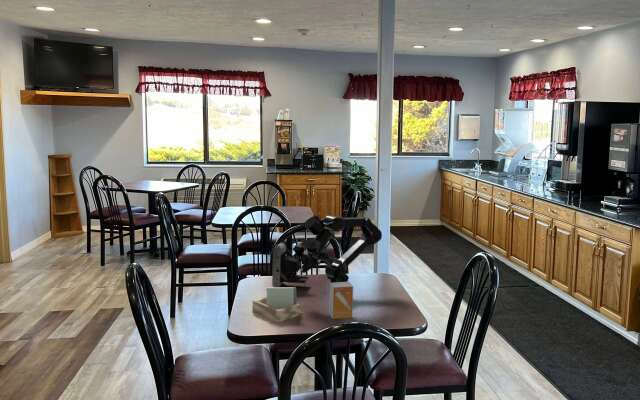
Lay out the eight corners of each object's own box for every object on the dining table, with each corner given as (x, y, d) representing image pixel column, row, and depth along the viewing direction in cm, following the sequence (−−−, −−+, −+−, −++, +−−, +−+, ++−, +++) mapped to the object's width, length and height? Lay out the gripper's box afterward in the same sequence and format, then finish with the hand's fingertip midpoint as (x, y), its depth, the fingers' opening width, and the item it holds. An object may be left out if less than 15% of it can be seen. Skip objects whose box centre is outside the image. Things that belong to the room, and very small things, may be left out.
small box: (332, 319, 213) (333, 287, 211) (328, 313, 219) (329, 282, 217) (352, 318, 214) (353, 286, 212) (348, 312, 221) (348, 281, 219)
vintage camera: (304, 292, 247) (306, 248, 244) (271, 288, 250) (272, 245, 247) (309, 285, 256) (311, 244, 253) (277, 282, 259) (278, 241, 256)
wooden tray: (275, 304, 229) (275, 294, 228) (301, 314, 218) (301, 303, 217) (252, 311, 221) (252, 300, 220) (278, 322, 209) (278, 311, 209)
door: (267, 310, 219) (266, 287, 217) (296, 310, 219) (296, 287, 217) (266, 311, 217) (266, 288, 216) (296, 311, 218) (296, 288, 216)
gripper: (295, 226, 234) (277, 257, 228) (329, 236, 222) (310, 268, 216) (307, 240, 241) (290, 270, 236) (341, 250, 230) (323, 282, 224)
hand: (302, 272), depth 228 cm, fingers closed
